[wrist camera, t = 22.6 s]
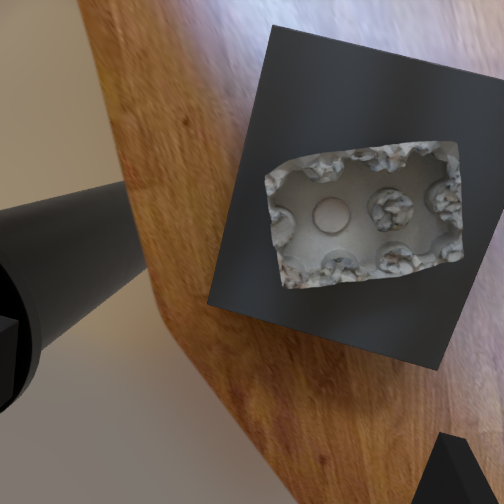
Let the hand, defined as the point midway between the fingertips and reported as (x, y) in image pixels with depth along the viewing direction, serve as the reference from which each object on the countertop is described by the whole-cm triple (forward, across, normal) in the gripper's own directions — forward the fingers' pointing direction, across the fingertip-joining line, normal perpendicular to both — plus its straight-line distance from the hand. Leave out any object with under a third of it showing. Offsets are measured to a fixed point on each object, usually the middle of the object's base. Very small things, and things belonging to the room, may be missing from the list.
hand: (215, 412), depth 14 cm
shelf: (+22, +5, +5) cm, 23 cm away
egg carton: (+17, +5, +5) cm, 18 cm away
